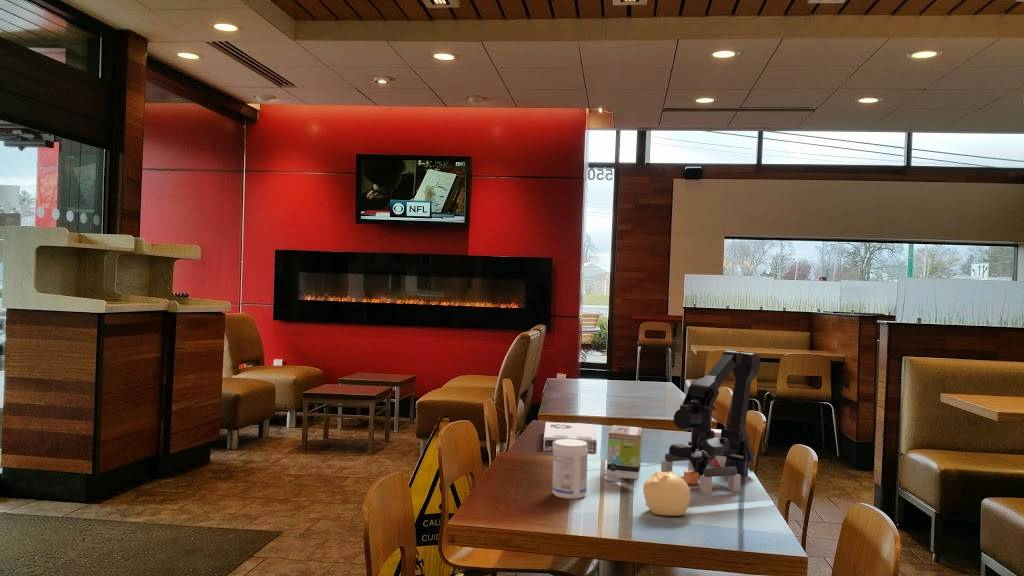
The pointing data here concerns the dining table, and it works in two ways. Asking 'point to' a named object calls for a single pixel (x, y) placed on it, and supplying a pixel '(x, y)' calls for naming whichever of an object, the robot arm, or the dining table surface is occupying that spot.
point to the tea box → (624, 453)
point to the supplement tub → (570, 468)
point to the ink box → (719, 460)
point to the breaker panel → (696, 485)
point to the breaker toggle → (691, 477)
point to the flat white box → (570, 434)
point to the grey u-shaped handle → (667, 463)
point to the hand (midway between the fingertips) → (699, 478)
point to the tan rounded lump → (666, 494)
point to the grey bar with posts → (731, 472)
